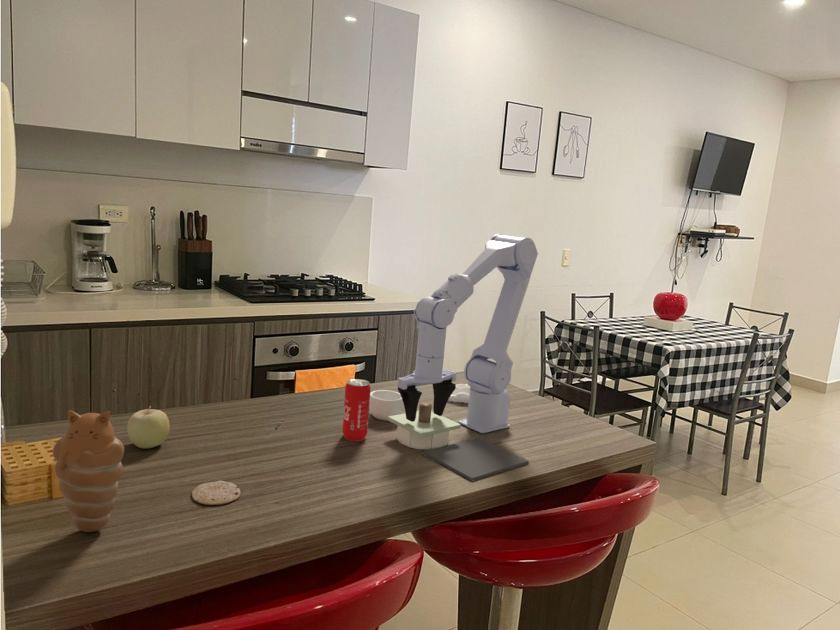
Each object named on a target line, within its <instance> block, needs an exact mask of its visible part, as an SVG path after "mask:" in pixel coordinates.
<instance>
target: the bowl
mask: <svg viewBox="0 0 840 630" xmlns="http://www.w3.org/2000/svg"><path fill="white" fill-rule="evenodd" d="M396 426H397V427H396V440H397V441H398V442H399V443H400V444H401V445H404V446H406V447H407V448H411V449H414V450H415V449H416V450H421V451H427V450H431V449H435V448H439V447H443V446H447V445H449V436H450V431H446V432H442V433H438V434H433V435H429V436H425V437H419V436H417V435H415V434H413V433H411V432H409V431H408V430H406V429H404V428H402V427H400V426H398V425H396Z"/></svg>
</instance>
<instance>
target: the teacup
mask: <svg viewBox="0 0 840 630" xmlns="http://www.w3.org/2000/svg"><path fill="white" fill-rule="evenodd" d="M403 404H404V403H403V400H402V397H401V395H400V393H399V391H394V390H389V389H388V390H387V389H386V390H385V389H378V390H374V391H370V403H369V412H370V413H371V415H372V416H373V417H374V418H375V419H377V420H379V421H384V422H387V421H388V416H393V415H399V414H402V413H401V412H402V408H403ZM388 422H389V421H388Z"/></svg>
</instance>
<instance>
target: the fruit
mask: <svg viewBox="0 0 840 630" xmlns="http://www.w3.org/2000/svg"><path fill="white" fill-rule="evenodd" d="M170 427H171V425H170V420H169V417H168V415H167V414H166V413H165V412H164V411H162V410H160V409H154V408H153V409H152V406H151V405H149V407H148V408H145V409H141V410H138V411H137V412H134V413H133V414H132V415H131V417H129V419H128V421H127V427H126V430H127V434H128V436H129V439H130V441H131V442H132V443H133V444H134V445H135V446H136V447H137V448H140V449H144V450H145V449H152V448H155V447H158V446H159V445H162V443H164V441H166V439H167V437H168V435H169V432H170Z"/></svg>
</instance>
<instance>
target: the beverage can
mask: <svg viewBox="0 0 840 630" xmlns="http://www.w3.org/2000/svg"><path fill="white" fill-rule="evenodd" d="M344 388H345V389H344V403H343V404H344V405H343V406H344V407H343V420H342V434H343V437H344V439H345V440H347V441H351V442H360V441H364V440H365V439H366V437H367V434H368V429H369V428H368V427H369V426H368V425H369V415H370V413H369V412H370V404H369V403H370V393H371V388H372V387H371V384H370V381H368V380H367V379H359V378H355V379H354V378H353V379H352V378H351V379H348V380H347V381H346V385H345V387H344Z"/></svg>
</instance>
